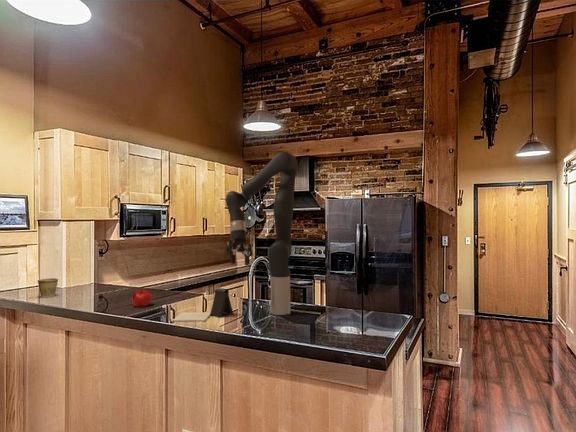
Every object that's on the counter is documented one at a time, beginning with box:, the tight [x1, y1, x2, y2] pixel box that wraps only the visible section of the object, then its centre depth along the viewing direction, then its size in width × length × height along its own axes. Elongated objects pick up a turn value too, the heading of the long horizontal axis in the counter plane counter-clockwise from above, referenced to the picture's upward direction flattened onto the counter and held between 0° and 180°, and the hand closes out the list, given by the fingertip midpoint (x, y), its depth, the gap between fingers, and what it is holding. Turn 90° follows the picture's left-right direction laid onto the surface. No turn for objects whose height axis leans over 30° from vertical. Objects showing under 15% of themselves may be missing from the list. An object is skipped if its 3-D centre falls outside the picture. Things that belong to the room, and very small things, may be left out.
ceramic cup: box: [37, 277, 59, 299], centre depth 224 cm, size 13×10×10 cm
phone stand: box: [209, 287, 234, 318], centre depth 177 cm, size 9×6×12 cm, turn 147°
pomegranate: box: [131, 287, 153, 308], centre depth 197 cm, size 10×10×9 cm
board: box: [172, 311, 211, 323], centre depth 172 cm, size 14×14×1 cm
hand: (240, 264), depth 179 cm, fingers open, 8 cm apart
